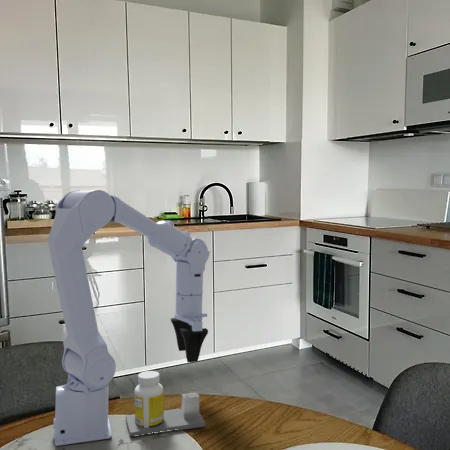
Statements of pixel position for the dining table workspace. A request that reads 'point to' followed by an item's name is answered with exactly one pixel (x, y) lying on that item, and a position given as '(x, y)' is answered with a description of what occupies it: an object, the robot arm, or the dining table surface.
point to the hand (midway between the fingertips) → (187, 355)
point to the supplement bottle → (149, 400)
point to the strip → (173, 417)
